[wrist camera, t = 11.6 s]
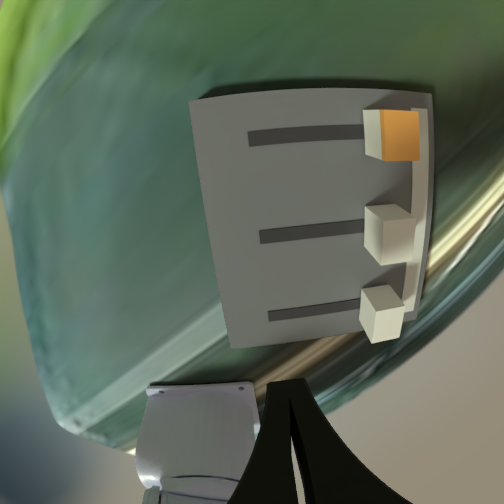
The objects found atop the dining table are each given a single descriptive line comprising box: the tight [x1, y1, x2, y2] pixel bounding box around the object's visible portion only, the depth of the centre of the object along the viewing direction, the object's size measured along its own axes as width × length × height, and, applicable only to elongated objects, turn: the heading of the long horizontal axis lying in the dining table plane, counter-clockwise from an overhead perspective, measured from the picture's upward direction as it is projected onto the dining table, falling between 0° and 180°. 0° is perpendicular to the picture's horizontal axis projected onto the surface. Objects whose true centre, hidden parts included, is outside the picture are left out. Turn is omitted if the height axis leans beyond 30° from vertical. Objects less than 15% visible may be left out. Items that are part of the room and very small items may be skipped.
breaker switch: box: [363, 110, 420, 161], centre depth 14 cm, size 2×2×3 cm
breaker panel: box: [189, 88, 434, 349], centre depth 17 cm, size 14×16×4 cm
